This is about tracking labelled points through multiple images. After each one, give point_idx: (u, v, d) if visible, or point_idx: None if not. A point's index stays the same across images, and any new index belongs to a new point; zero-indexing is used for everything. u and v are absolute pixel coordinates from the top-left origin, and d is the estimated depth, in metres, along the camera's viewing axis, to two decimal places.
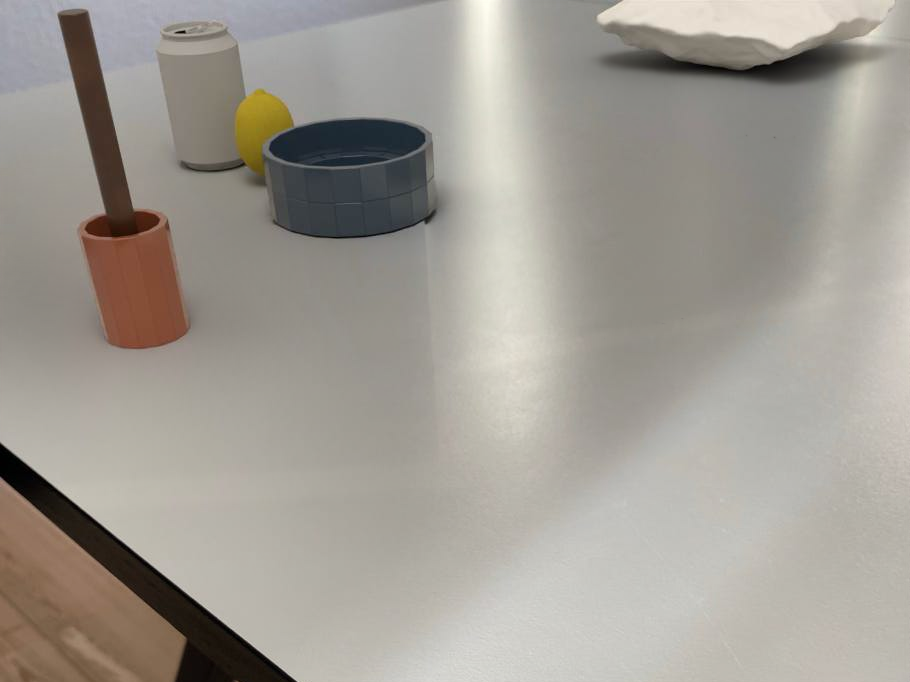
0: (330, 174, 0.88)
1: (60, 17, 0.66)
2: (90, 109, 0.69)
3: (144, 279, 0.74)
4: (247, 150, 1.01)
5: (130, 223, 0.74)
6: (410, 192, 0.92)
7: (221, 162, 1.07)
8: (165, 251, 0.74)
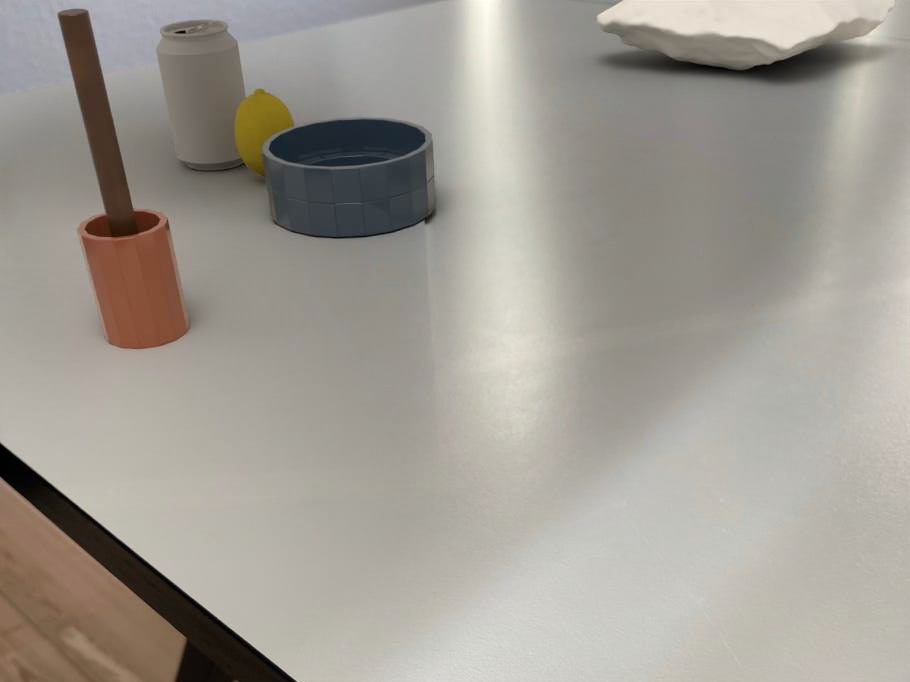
0: (330, 174, 0.88)
1: (60, 17, 0.66)
2: (90, 109, 0.69)
3: (144, 279, 0.74)
4: (247, 150, 1.01)
5: (130, 223, 0.74)
6: (410, 192, 0.92)
7: (221, 162, 1.07)
8: (165, 251, 0.74)
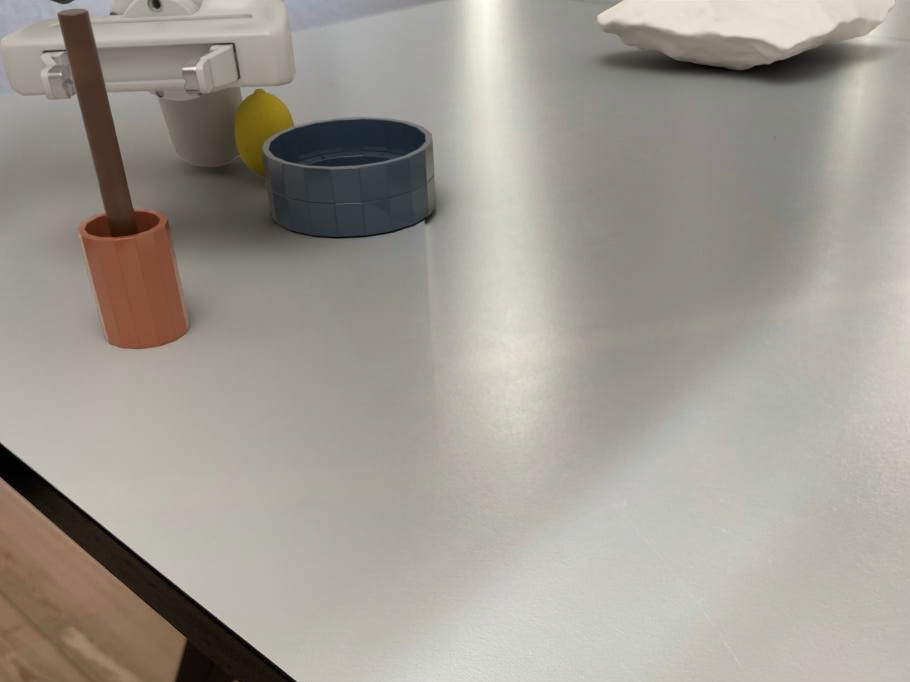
0: (330, 174, 0.88)
1: (60, 17, 0.66)
2: (90, 109, 0.69)
3: (144, 279, 0.74)
4: (247, 150, 1.01)
5: (130, 223, 0.74)
6: (410, 192, 0.92)
7: (219, 165, 1.06)
8: (165, 251, 0.74)
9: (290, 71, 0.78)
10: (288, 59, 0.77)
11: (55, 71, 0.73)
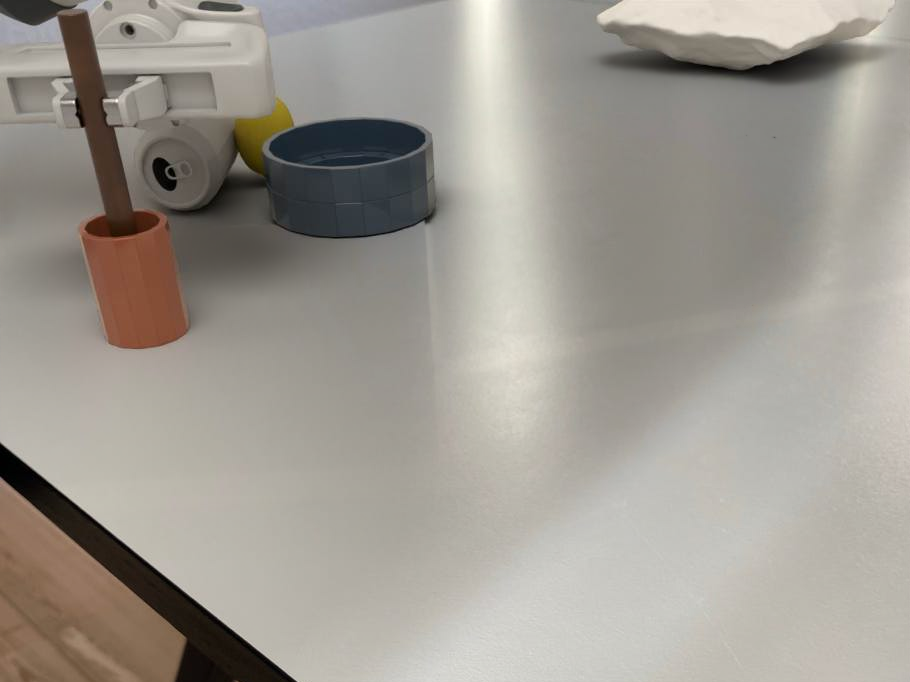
0: (330, 174, 0.88)
1: (59, 17, 0.66)
2: (89, 109, 0.69)
3: (144, 279, 0.74)
4: (247, 150, 1.01)
5: (130, 223, 0.74)
6: (410, 192, 0.92)
7: None
8: (165, 251, 0.74)
9: (270, 103, 0.74)
10: (268, 90, 0.73)
11: (68, 99, 0.69)
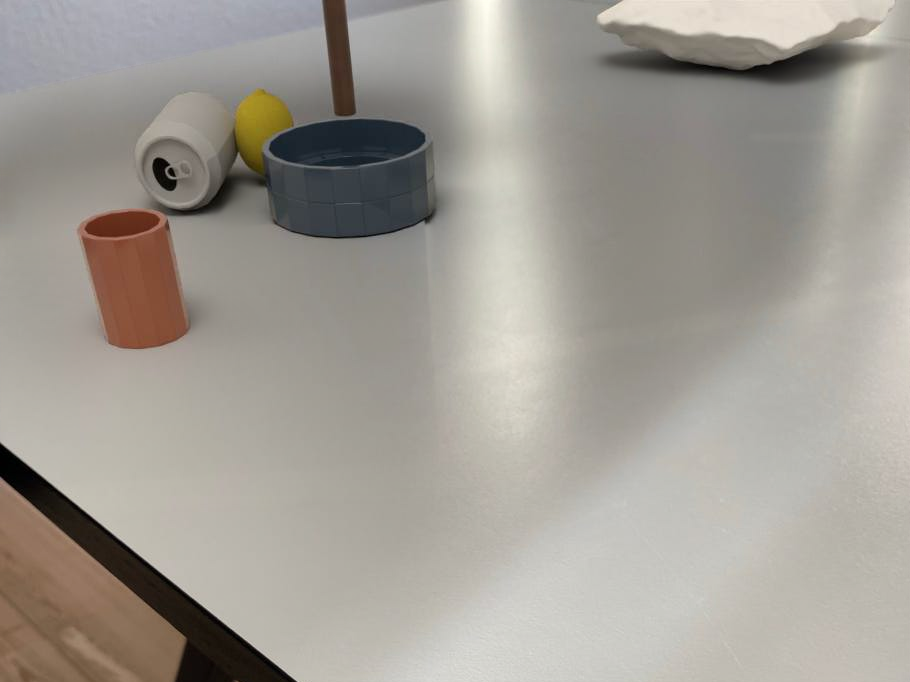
0: (330, 174, 0.88)
1: None
2: None
3: (144, 279, 0.74)
4: (247, 150, 1.01)
5: (342, 9, 0.87)
6: (410, 192, 0.92)
7: None
8: (165, 251, 0.74)
9: None
10: None
11: None
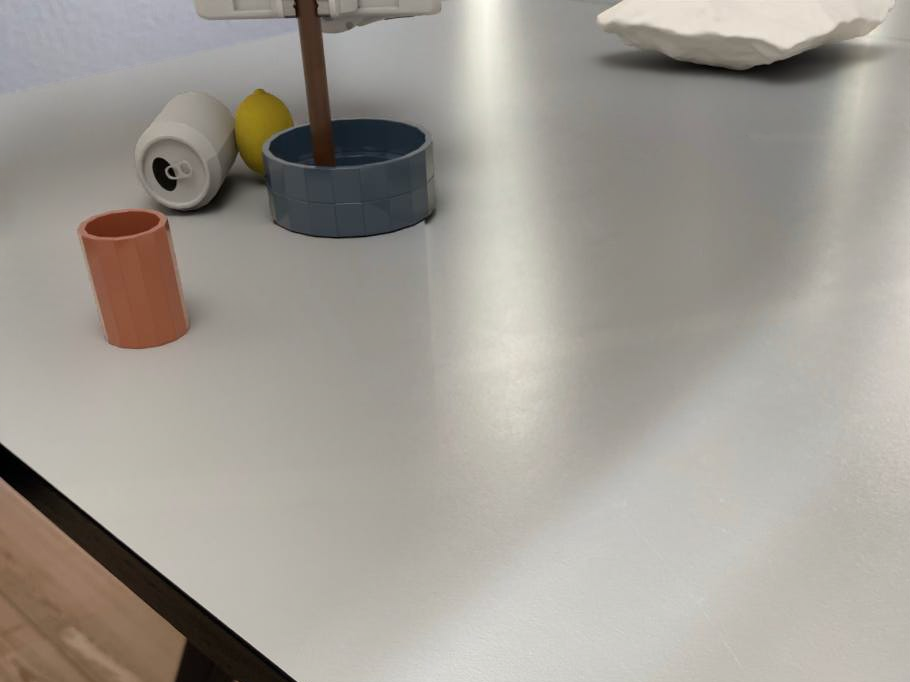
0: (330, 174, 0.88)
1: None
2: (305, 1, 0.86)
3: (144, 279, 0.74)
4: (247, 150, 1.01)
5: (325, 100, 0.91)
6: (410, 192, 0.92)
7: None
8: (165, 251, 0.74)
9: (440, 2, 0.91)
10: None
11: None
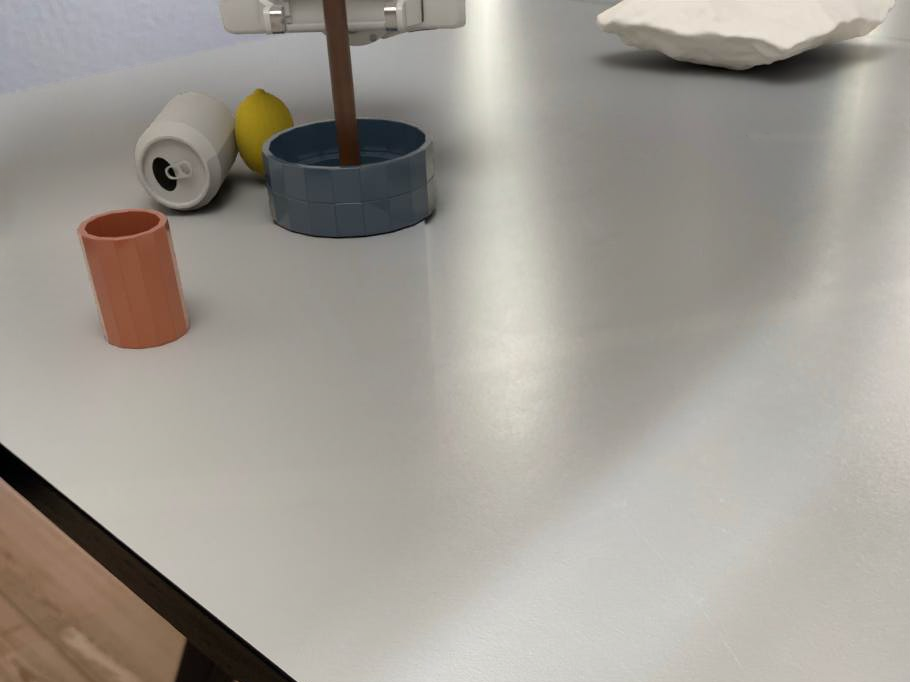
0: (330, 174, 0.88)
1: None
2: (333, 17, 0.87)
3: (144, 279, 0.74)
4: (247, 150, 1.01)
5: (353, 113, 0.92)
6: (410, 192, 0.92)
7: None
8: (165, 251, 0.74)
9: (465, 16, 0.91)
10: (464, 5, 0.91)
11: (275, 9, 0.87)
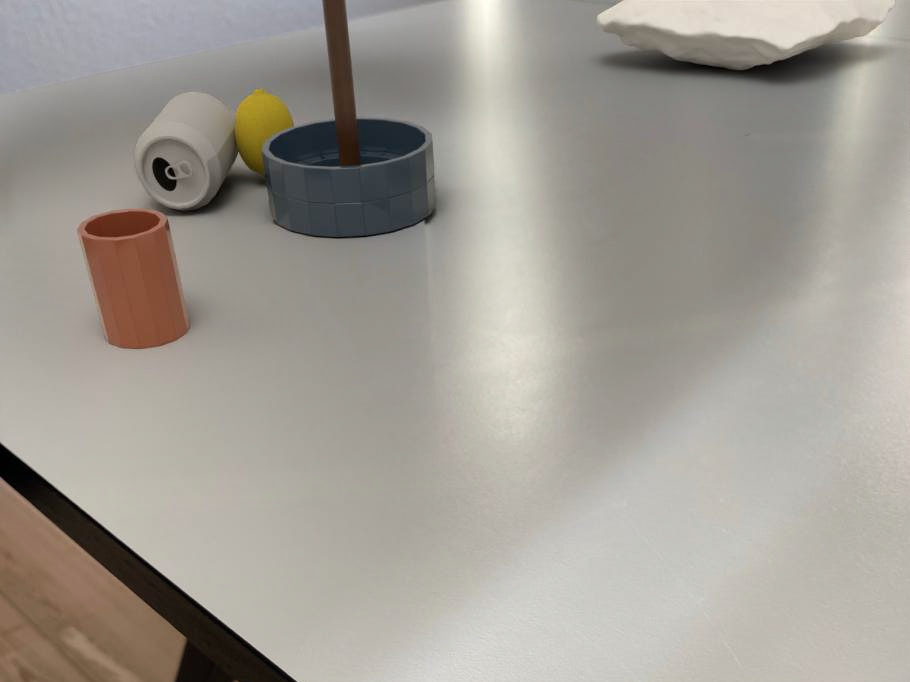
0: (330, 174, 0.88)
1: None
2: (333, 17, 0.87)
3: (144, 279, 0.74)
4: (247, 150, 1.01)
5: (353, 113, 0.92)
6: (410, 192, 0.92)
7: None
8: (165, 251, 0.74)
9: None
10: None
11: None
